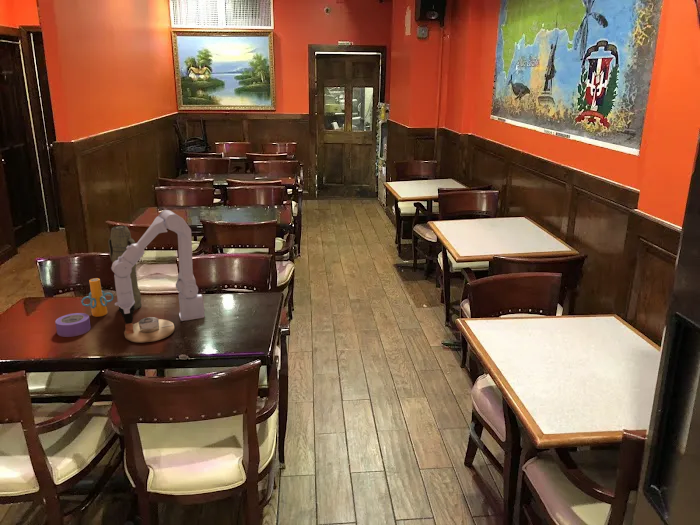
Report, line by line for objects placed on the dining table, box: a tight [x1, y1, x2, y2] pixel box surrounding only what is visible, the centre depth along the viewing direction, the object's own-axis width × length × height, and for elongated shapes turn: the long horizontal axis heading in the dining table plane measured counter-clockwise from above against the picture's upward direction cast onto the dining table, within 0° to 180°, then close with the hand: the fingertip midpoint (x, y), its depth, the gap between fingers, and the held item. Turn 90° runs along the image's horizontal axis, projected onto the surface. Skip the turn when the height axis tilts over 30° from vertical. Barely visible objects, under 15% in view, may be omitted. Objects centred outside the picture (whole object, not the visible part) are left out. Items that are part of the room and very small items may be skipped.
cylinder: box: [80, 277, 115, 318], centre depth 230 cm, size 12×10×15 cm
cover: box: [138, 316, 159, 333], centre depth 213 cm, size 7×7×4 cm
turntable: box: [123, 318, 175, 343], centre depth 214 cm, size 18×18×4 cm
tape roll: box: [54, 312, 92, 338], centre depth 217 cm, size 12×12×5 cm
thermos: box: [107, 225, 142, 311], centre depth 234 cm, size 9×12×35 cm
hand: (129, 324), depth 216 cm, fingers closed
